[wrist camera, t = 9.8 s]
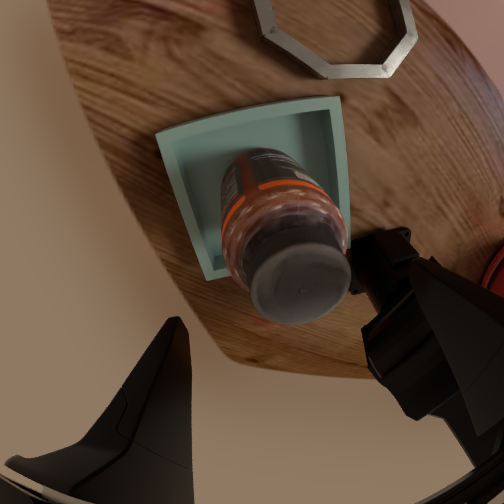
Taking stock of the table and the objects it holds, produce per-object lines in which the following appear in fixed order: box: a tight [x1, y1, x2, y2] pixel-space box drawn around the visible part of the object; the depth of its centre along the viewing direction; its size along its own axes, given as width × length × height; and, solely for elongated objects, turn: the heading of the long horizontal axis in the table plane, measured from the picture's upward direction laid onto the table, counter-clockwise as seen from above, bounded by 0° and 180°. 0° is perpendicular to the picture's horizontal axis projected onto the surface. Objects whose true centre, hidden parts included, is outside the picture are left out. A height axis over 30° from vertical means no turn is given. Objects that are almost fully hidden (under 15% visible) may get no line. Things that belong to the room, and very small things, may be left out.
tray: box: [155, 95, 351, 281], centre depth 19 cm, size 12×12×2 cm
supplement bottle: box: [221, 148, 351, 325], centre depth 15 cm, size 6×6×11 cm
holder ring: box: [250, 0, 418, 80], centre depth 12 cm, size 12×12×2 cm
